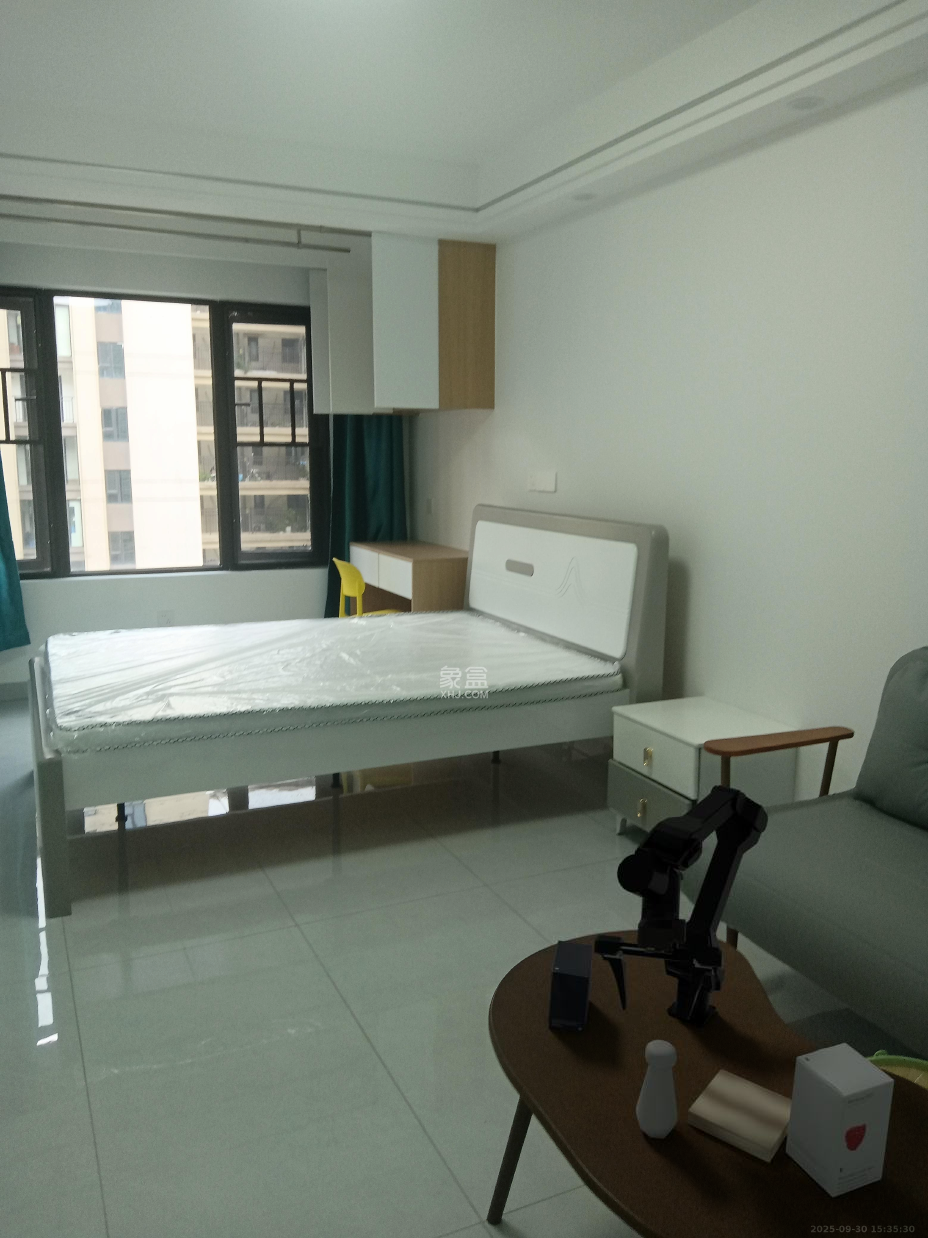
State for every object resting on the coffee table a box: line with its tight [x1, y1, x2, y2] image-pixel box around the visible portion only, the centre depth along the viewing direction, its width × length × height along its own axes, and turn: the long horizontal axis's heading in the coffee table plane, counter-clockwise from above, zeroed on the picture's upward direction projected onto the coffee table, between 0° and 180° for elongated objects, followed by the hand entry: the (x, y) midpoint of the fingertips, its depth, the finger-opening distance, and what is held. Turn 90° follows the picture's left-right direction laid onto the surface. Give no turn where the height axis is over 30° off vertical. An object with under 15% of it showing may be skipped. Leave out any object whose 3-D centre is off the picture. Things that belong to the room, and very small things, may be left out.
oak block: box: [686, 1068, 792, 1163], centre depth 136 cm, size 12×12×2 cm
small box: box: [547, 940, 593, 1034], centre depth 160 cm, size 11×6×10 cm, turn 168°
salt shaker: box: [635, 1039, 679, 1139], centre depth 133 cm, size 6×6×13 cm
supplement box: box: [785, 1042, 895, 1198], centre depth 127 cm, size 9×9×15 cm
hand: (655, 1014), depth 139 cm, fingers open, 9 cm apart
